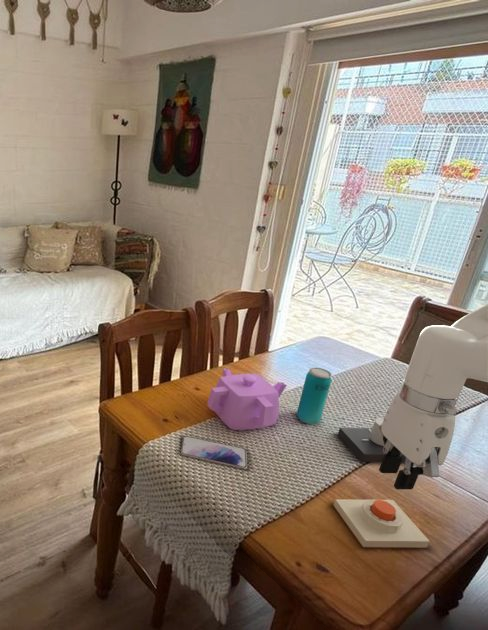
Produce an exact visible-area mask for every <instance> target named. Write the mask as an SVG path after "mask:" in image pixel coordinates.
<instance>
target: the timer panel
mask: <svg viewBox="0 0 488 630" xmlns="http://www.w3.org/2000/svg"><path fill="white" fill-rule="evenodd" d="M372 428H373V427H339V428H338V432H337V437H338V438H339V439H340V440H341V442H342V443H344V445H345V446H346V447H347V448H348V449H349V450H350V451H351V452H352V454H353V455H354V456H355V457H356V458H357V459H358V461H360V462H361V463H382V460H383V457H384V454H385V453H384V452H383V448H384V446H382V445H378V444H376V443H374V442H373V441H372V440H371V439H370V434H371V431H372ZM400 455H402V456H403V459H402V462H401V464H402V463H403V464H405V460H406V456H405V455H404V454H402V453H401V454H400Z"/></svg>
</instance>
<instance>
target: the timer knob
mask: <svg viewBox="0 0 488 630" xmlns="http://www.w3.org/2000/svg"><path fill="white" fill-rule="evenodd" d="M383 420H384V418H383V417H377V418H375V419H374V422H373V425H372V427H371V428H372V431H371V434H370V439H371V440H372V441H373V442H374V443H376V444H378V445H382V446H385V445H384V441H383V436H382V434H381V431H380V429H379V426H380V425H382V423H383Z"/></svg>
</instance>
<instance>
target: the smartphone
mask: <svg viewBox="0 0 488 630" xmlns="http://www.w3.org/2000/svg"><path fill="white" fill-rule="evenodd" d="M180 454H181V456H185V457H188V458H193V459H198V460H202V461H207V462H211V463H214V464H215V463H216V464H219V465H220V464H221V465H223V466H228V467H233V468H238V469H243V470H246V469H248V455H247V450H246V449H245V448H243V447H239V446H234V445H229V444H225V443H220V442H215V441H210V440H206V439H200V438H196V437H191V436H187V435H186V436H183V437H182V442H181V449H180Z"/></svg>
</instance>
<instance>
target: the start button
mask: <svg viewBox="0 0 488 630" xmlns="http://www.w3.org/2000/svg"><path fill="white" fill-rule="evenodd" d="M374 500H375V501H374V503H373V506H372V509H371V510H372V513H373V514H374V515H375V516H377V517H378V518H380V519H383V520H385V521H391V520H393V518H394V516H395V513H396V509H395V508H394V507H393V506H392V505H391V504H390V503H388V502H386V501H383V500H384V499H374Z"/></svg>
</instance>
